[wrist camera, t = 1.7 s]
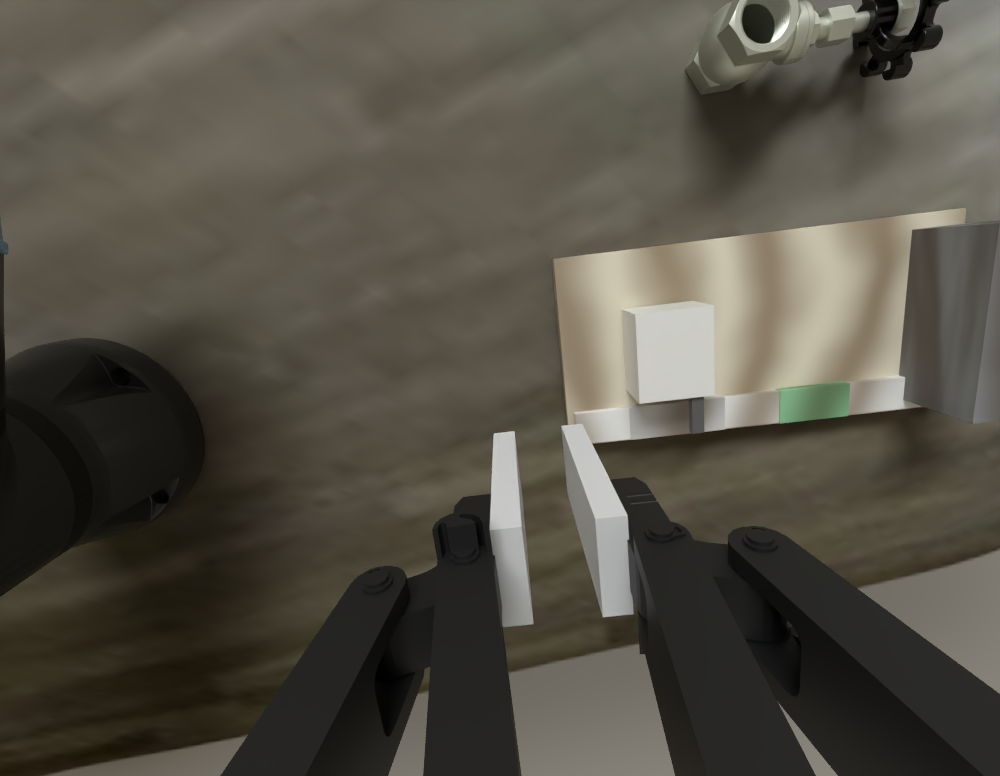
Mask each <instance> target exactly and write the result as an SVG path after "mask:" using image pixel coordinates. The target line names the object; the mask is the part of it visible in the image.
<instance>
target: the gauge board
mask: <svg viewBox="0 0 1000 776" xmlns="http://www.w3.org/2000/svg"><path fill="white" fill-rule="evenodd" d="M965 216H966V208H960V209H951V210H943V211H935V212H927V213H919V214H911V215H903V216H895V217H887V218H879V219H871V220H863V221H855V222H847V223H839V224H831V225H823V226H815V227H807V228H799V229H791V230H783V231H775V232H766V233H758V234H750V235H742V236H734V237H726V238H718V239H710V240H702V241H694V242H686V243H678V244H670V245H662V246H654V247H646V248H638V249H630V250H622V251H614V252H606V253H598V254H590V255H582V256H574V257H566V258H558V259H552V268H553V279H554V290H555V301H556V312H557V323H558V334H559V345H560V356H561V367H562V378H563V390H564V401H565V412H566V423H567V425H574V424H583V426H584V428H585V430H586V432H587V435H588V437H589V439H590V441H591V443H592V444H597V443H606V442H615V441H624V440H635V439H644V438H653V437H662V436H671V435H680V434H689V433H691V432H690V431H689V398H687V399H678V400H669V401H660V402H652V403H643V404H639V403H638V402H637V401H636V400H635V399H634V397H633V396H632V395H631V394H630V393H629V392H628V391H627V389H626V371H625V353H624V335H623V317H622V309H628V308H636V307H645V306H653V305H661V304H670V303H678V302H686V301H697V302H702V303H706V304H711V305H714V366H715V395H713V396H704V432H707V431H716V430H725V429H731V428H740V427H749V426H758V425H767V424H776V423H779V424H781V423H790V422H799V421H808V420H816V419H825V418H834V417H843V416H848V415H857V414H866V413H875V412H884V411H893V410H902V409H911V408H920V407H926V408H928V409H931V410H934V411H937V412H940V413H943V414H946V415H949V416H952V417H954V418H957V419H960V420H963V421H966V422H969V423H972V424H975V423H984V422H993V421H1000V221H991V222H978V223H966V224H965Z"/></svg>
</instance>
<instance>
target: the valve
mask: <svg viewBox="0 0 1000 776" xmlns="http://www.w3.org/2000/svg"><path fill="white" fill-rule="evenodd" d="M947 1H949V0H920V6H919V12H918V15H917V19H916V21H915V24H914V26H913V28H912V30H911V31H910V33H909V35H903V36H895V35H893V34H897V33H899V32H901V31H903V30H904V29H906V28H907V27H909V25H910V23H911V21H912V19H913V17H914V14H915V10H916V4H915V1H914V0H862V5H861V7H860V8H859V9H858V11H857V13H855V11H854V9H853V7H852V6H851V5H845V6H839V7H833V8H828V9H827V10H825V11H824V12H823V13H821V14H820V15H819V16H818V14H817V12H816V11H814V9H813V7H812V5H811V4H810V2H808V1H800V2H799V1H798V0H732V2H730V3H728V4H726V5H725V6H723V7H722V8H721V9H720V10H718V11H717V12H716V13H715V14H714V16H713V17H712V18H711V19H710V21H709V22H708V24H707V25H706V27H705V29H704V31H703V33H702V35H701V36H700V37H699V38H698V40H697V42H696V45H695V47H694V49H693V52H692V54H691V56H690V59H689V61H688V63H687V66H686V68H685V70H686V72H687V74H688V75H689V77H690V79H691V80H692V82H693V83H694V85H695V87H696V88H697V90H698V92H699V93H700V94H701V95H703V94H709V93H715V92H721V91H727V90H730V89H732V88H733V87H734V86H736V85H737V84H739V83H742V82H744V81H747V80H748V79H750V78H752V77H753V76H754V75H756V74H757V73H758V72H759V71H760V70H761V69H762V68H763V67H764V66H765V65H766V63H767V62H768V61H771V60H772V61H773V62H774V64H776V65H785V64H791V63H796V62H798V61H799V60H801V59H802V58H803V56H804V55H805V54H806V52H807V50H808V48H810V47H811V46H812V45H814V44H816V46H817V48H821V47H827V46H833V45H838V44H840V43H842V42H844V41H845V40H847V39H848V38H849V37H850V35H851V34H853V36H852V37H853V47H854V48H861V47H867V46H869V48H870V51H871V53H872V55H873V56H872V58H871V59H870V61H865V62H862V63H861V66H860V75H861V76H862V77H870V76H876V75H880V74H882V76H883V79H884V80H894V79H900V78H904V77H906V76H907V75H908V74H909V72H910V71H911V68H912V64H913V61H912V58H911V57H910V56H911V53H912V52H918V51H924V50H930V49H933V48H935V47H936V46H937V45H938V44H939V42H940V41H941V38H942V35H943V29H942V27H941V26H940V25H934V23H933V19H934V16H935V13H936V10H937V7H938V6H939V4H941V3H943V2H947ZM888 61H890V63H891V67H890V70H887V71H884V70H885V69H886V67H887V63H888Z"/></svg>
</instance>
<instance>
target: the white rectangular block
mask: <svg viewBox="0 0 1000 776" xmlns="http://www.w3.org/2000/svg"><path fill="white" fill-rule="evenodd" d="M622 317H623V335H624V353H625V371H626V389H627V391H628V392H629V393H630V394H631V395H632V396H633V397H634V399H635V400H636V401H637V402H638V403H639V404H643V403H652V402H660V401H669V400H678V399H687V398H689V431H690V432H691V433H692V434H697V433H704V396H713V395H715V366H714V305H711V304H706V303H702V302H697V301H686V302H678V303H670V304H661V305H653V306H645V307H636V308H628V309H622Z"/></svg>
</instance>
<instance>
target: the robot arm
mask: <svg viewBox="0 0 1000 776" xmlns="http://www.w3.org/2000/svg"><path fill="white" fill-rule="evenodd" d="M4 254H8V244H7V243H5V242H4V241H3V238H2V229H1V220H0V596H2V595H3V594H5V593H6V592H7V591H9V590H10V589H12V588H13V587H15V586H16V585H18V584H19V583H21V582H22V581H23V580H25V579H26V578H28V577H29V576H31V575H32V574H34V573H35V572H36V571H38V570H39V569H41V568H42V567H44V566H45V565H47V564H48V563H49V562H51V561H52V560H54V559H55V558H57V557H58V556H60V555H61V554H63V553H64V552H66V551H67V550H69V549H70V548H73V547H76V546H79V545H83V544H86V543H89V542H93V541H96V540H99V539H102V538H106V537H109V536H112V535H116V534H119V533H122V532H126V531H129V530H132V529H135V528H138V527H141V526H143V525H145V524H147V523H149V522H151V521H153V520H155V519H156V518H158V517H159V516H161V515H162V514H163V513H165V512H166V511H167V510H169V509H170V508H171V507H173V506H174V505H175V504H177V503H178V502H179V501H180V500H182V499H183V498H184V497H185V496H186V494H187V493H188V492H189V491H190V489H191V488H192V486H193V485H194V483H195V481H196V479H197V477H198V475H199V472H200V469H201V465H202V460H203V451H204V444H203V434H202V429H201V425H200V421H199V418H198V416H197V413H196V411H195V408H194V406H193V404H192V402H191V401H190V399H189V397H188V396H187V394H186V393H185V391H184V390H183V389H182V387H181V386H180V385H179V383H178V382H177V381H176V380H175V379H174V378H173V377H172V376H171V375H170V374H169V373H168V372H167V371H166V370H165V369H164V368H163V367H161V366H160V365H159V364H157V363H156V362H155V361H153V360H152V359H150V358H149V357H147V356H146V355H144V354H142V353H140V352H138V351H136V350H134V349H132V348H130V347H127V346H125V345H122V344H119V343H115V342H112V341H107V340H101V339H92V338H79V339H70V340H64V341H59V342H54V343H49V344H43V345H39V346H36V347H33V348H30V349H27V350H25V351H23V352H20V353H18V354H16V355H15V356H13V357H11V358H10V359H8V360H6V361H5V341H4ZM561 427H562V438H563V449H564V459H565V470H566V481H567V492H568V496H569V500H570V503H571V507H572V510H573V514H574V517H575V521H576V525H577V528H578V532H579V535H580V539H581V542H582V546H583V549H584V553H585V556H586V560H587V563H588V567H589V570H590V574H591V577H592V581H593V584H594V588H595V591H596V595H597V598H598V602H599V605H600V609H601V612H602V616H603V617H609V616H619V615H629V614H633V599H634V602H635V604H636V607H637V610H638V628H639V645H640V654H645V655H646V660H647V664H648V668H649V671H650V675H651V680H652V683H653V688H654V692H655V695H656V700H657V704H658V708H659V712H660V716H661V720H662V724H663V728H664V732H665V736H666V740H667V744H668V748H669V752H670V756H671V760H672V764H673V768H674V772H675V776H816V775H815V774H814V771H813V770H812V768H811V766H810V764H809V762H808V760H807V758H806V756H805V754H804V752H803V750H802V748H801V746H800V744H799V743H798V741H797V739H796V737H795V735H794V733H793V731H792V729H791V727H790V725H789V723H788V721H787V719H786V717H785V715H784V713H783V712H782V710H781V708H780V706H779V704H780V705H781V706H782V707H783V709H784V710H785V711H786V712H787V713H788V715H789V716H790V717H791V718H792V720H793V721H794V722H795V723H796V724H797V726H798V727H799V728H800V729H801V731H802V732H803V733H804V734H805V736H806V737H807V738H808V739H809V741H811V743H812V744H813V745H814V747H815V748H816V749H817V750H818V752H819V753H820V754H821V755H822V756H823V758H824V759H825V760H826V761H827V763H828V764H829V765H830V766H831V768H832V769H833V770H834V771H835V772H836V774H837V775H838V776H1000V694H999V693H997V692H996V691H995V690H993V689H992V688H991V687H990V686H988V685H987V684H985V683H984V682H983V681H981V680H980V679H979V678H977V677H976V676H974V675H973V674H972V673H971V672H969V671H968V670H967V669H965V668H964V667H962V666H961V665H960V664H958V663H957V662H956V661H954V660H953V659H952V658H950V657H949V656H948V655H946V654H945V653H944V652H942V651H941V650H940V649H938V648H937V647H935V646H934V645H933V644H931V643H930V642H929V641H927V640H926V639H924V638H923V637H922V636H921V635H919V634H918V633H916V632H915V631H914V630H912V629H911V628H910V627H908V626H907V625H906V624H904V623H903V622H901V621H900V620H899V619H898V618H896V617H895V616H894V615H892V614H891V613H890V612H888V611H887V610H885V609H884V608H883V607H881V606H880V605H879V604H877V603H876V602H875V601H873V600H872V599H871V598H869V597H868V596H867V595H865V594H864V593H862V592H861V591H860V590H858V589H857V588H856V587H854V586H853V585H852V584H850V583H849V582H848V581H846V580H845V579H844V578H842V577H841V576H840V575H838V574H837V573H835V572H834V571H833V570H831V569H830V568H829V567H827V566H826V565H825V564H823V563H822V562H821V561H819V560H818V559H817V558H815V557H814V556H812V555H811V554H810V553H808V552H807V551H806V550H804V549H803V548H802V547H800V546H799V545H798V544H796V543H795V542H794V541H792V540H791V539H790V538H788V537H787V536H785V535H783V534H781V533H779V532H778V531H775V530H771V529H768V528H765V527H758V526H750V527H741V528H738V529H735V530H733V531H732V532H731V533H730V534H729V535H728V544H717V543H707V542H701V541H697V540H693V538H692V536H691V534H690V532H689V531H688V530H687V529H686V528H685V527H683V526H681V525H679V524H677V523H674V522H670V520H669V519H668V517H667V515H666V514H665V512H664V511H663V509H662V508H661V506H660V505H659V503H658V502H657V501H656V498H655V497H654V495H653V494H652V492H651V491H650V489H649V488H648V486H647V485H646V484H645V483H644V482H642V481H640V480H638V479H637V478H635V477H632V478H623V479H613V480H610V479H609V477H608V475H607V473H606V471H605V469H604V467H603V465H602V463H601V461H600V459H599V457H598V455H597V453H596V451H595V449H594V447H593V445H592V443H591V441H590V439H589V437H588V435H587V432H586V430H585V428H584V426H583V424H574V425H565V426H561ZM432 531H433V537H434V542H435V548H436V554H437V560H438V561H437V566H436V567H434V568H433V569H431V570H429V571H427V572H425V573H422V574H420V575H417V576H413V577H410V578H407V577H406V574H405V572H404V571H403V570H402V569H400V568H398V567H394V566H383V567H377V568H374V569H371V570H368V571H366V572H365V573H363V574H361V575H360V576H358V577H357V578H356V579H355V580H354V581H353V582H352V583H351V584H350V586H349V587H348V589H347V590H346V592H345V593H344V595H343V596H342V598H341V599H340V601H339V602H338V604H337V605H336V607H335V608H334V609H333V611H332V612H331V614H330V615H329V617H328V618H327V620H326V621H325V623H324V624H323V626H322V627H321V629H320V630H319V632H318V633H317V634H316V636H315V637H314V639H313V640H312V642H311V643H310V645H309V646H308V648H307V649H306V651H305V652H304V654H303V655H302V657H301V658H300V660H299V661H298V662H297V664H296V665H295V667H294V668H293V670H292V671H291V673H290V674H289V676H288V677H287V679H286V680H285V682H284V683H283V685H282V686H281V687H280V689H279V690H278V692H277V693H276V695H275V696H274V698H273V699H272V701H271V702H270V704H269V705H268V707H267V708H266V710H265V711H264V713H263V714H262V715H261V717H260V718H259V720H258V721H257V723H256V724H255V726H254V727H253V729H252V730H251V732H250V733H249V735H248V736H247V738H246V739H245V741H244V742H243V744H242V745H241V746H240V748H239V749H238V751H237V752H236V754H235V755H234V757H233V758H232V760H231V761H230V763H229V764H228V766H227V767H226V769H225V770H224V772H223V773H222V774H221V776H388V774H389V771H390V768H391V766H392V763H393V760H394V757H395V755H396V752H397V749H398V746H399V744H400V741H401V738H402V735H403V733H404V730H405V727H406V724H407V721H408V719H409V716H410V713H411V710H412V708H413V705H414V702H415V699H416V696H417V694H418V691H419V688H420V685H421V683H422V680H423V676H424V669H425V668H427V667H430V666H431V667H430V682H429V698H428V713H427V728H426V743H425V758H424V774H423V776H521V769H520V762H519V753H518V745H517V737H516V730H515V722H514V714H513V706H512V698H511V690H510V682H509V674H508V666H507V658H506V650H505V642H504V635H503V628H502V622H503V627H509V626H519V625H529V624H533V613H532V602H531V591H530V579H529V568H528V557H527V545H526V534H525V523H524V511H523V500H522V491H521V483H520V475H519V466H518V458H517V450H516V441H515V433H514V431H512V432H503V433H494V439H493V462H492V485H491V494H487V495H478V496H469V497H463V498H462V499H461V500H460V501H459V502H458V503H457V504H456V505H455V508H454V513H453V514H449V515H447V516H445V517H443V518H441V519H440V520H439V521H438V522H436V523H435V525H434V527H433V529H432ZM632 596H633V597H632ZM777 701H778V702H779V704H778V702H777Z"/></svg>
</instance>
